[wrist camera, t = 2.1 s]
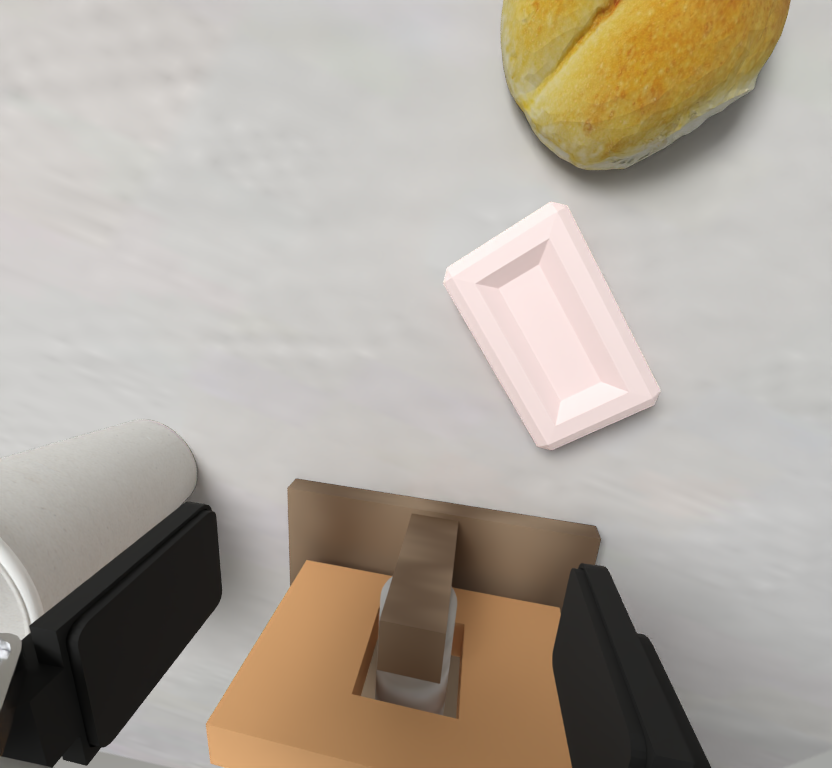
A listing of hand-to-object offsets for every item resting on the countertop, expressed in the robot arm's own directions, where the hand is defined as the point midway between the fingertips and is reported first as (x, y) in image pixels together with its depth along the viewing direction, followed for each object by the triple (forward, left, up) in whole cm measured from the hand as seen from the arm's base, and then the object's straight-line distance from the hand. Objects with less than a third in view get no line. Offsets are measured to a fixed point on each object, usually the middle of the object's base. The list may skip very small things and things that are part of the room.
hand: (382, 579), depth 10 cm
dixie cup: (+16, +5, -11) cm, 20 cm away
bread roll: (-6, -16, -11) cm, 20 cm away
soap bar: (-5, -5, -11) cm, 13 cm away
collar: (-1, +9, -8) cm, 12 cm away
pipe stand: (-1, +14, -10) cm, 17 cm away
